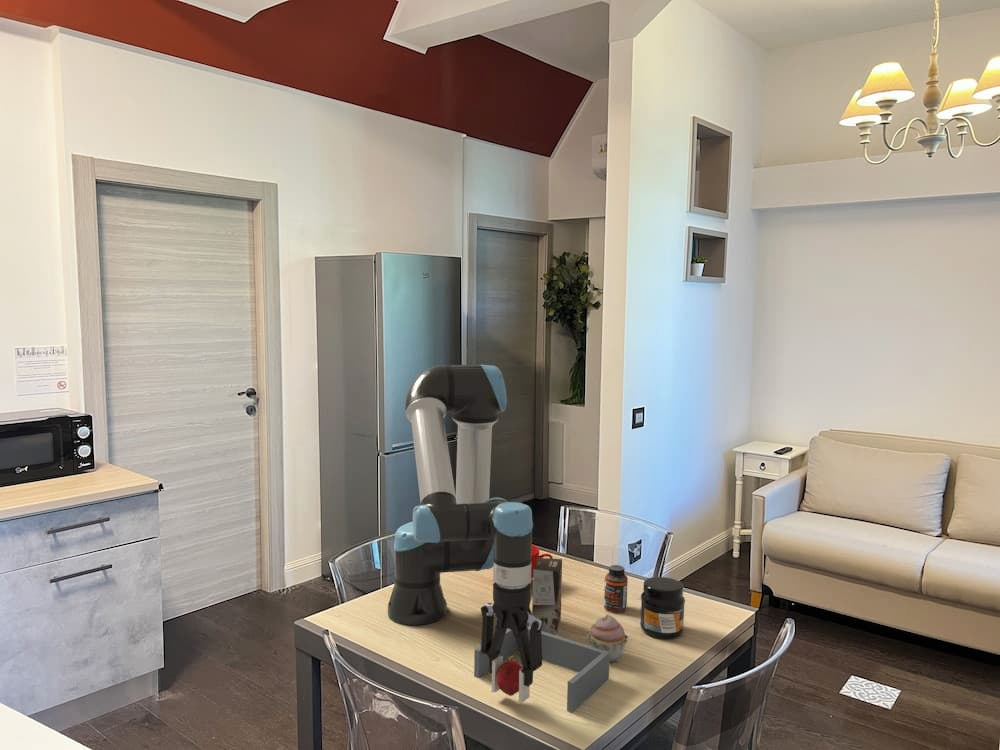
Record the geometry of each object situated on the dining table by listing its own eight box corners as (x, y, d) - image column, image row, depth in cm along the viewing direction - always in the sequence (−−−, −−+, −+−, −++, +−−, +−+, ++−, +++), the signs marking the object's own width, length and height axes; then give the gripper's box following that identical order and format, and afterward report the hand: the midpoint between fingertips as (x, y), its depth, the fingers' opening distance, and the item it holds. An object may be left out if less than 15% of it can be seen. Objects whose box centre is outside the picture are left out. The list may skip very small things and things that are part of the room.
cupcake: (584, 646, 171) (585, 605, 170) (624, 647, 171) (625, 606, 170) (588, 665, 162) (589, 622, 161) (630, 667, 162) (631, 623, 161)
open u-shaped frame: (474, 675, 157) (474, 649, 156) (515, 647, 170) (515, 623, 169) (572, 712, 143) (573, 683, 143) (608, 679, 156) (609, 652, 156)
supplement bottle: (601, 611, 191) (602, 569, 190) (606, 602, 197) (608, 561, 196) (623, 615, 189) (625, 572, 188) (628, 606, 194) (630, 565, 193)
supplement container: (670, 644, 173) (671, 595, 172) (631, 630, 180) (633, 583, 179) (691, 630, 180) (693, 583, 179) (654, 617, 188) (655, 572, 186)
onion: (515, 706, 143) (516, 666, 142) (490, 697, 146) (491, 659, 145) (530, 693, 148) (530, 655, 147) (506, 685, 151) (506, 647, 150)
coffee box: (557, 636, 176) (558, 571, 175) (530, 633, 178) (532, 569, 176) (561, 620, 185) (563, 558, 184) (536, 617, 187) (537, 556, 185)
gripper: (462, 577, 147) (461, 687, 149) (542, 599, 136) (540, 718, 138) (484, 566, 153) (483, 673, 155) (563, 587, 142) (560, 701, 144)
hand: (510, 694), depth 147 cm, fingers closed on onion, 6 cm apart
